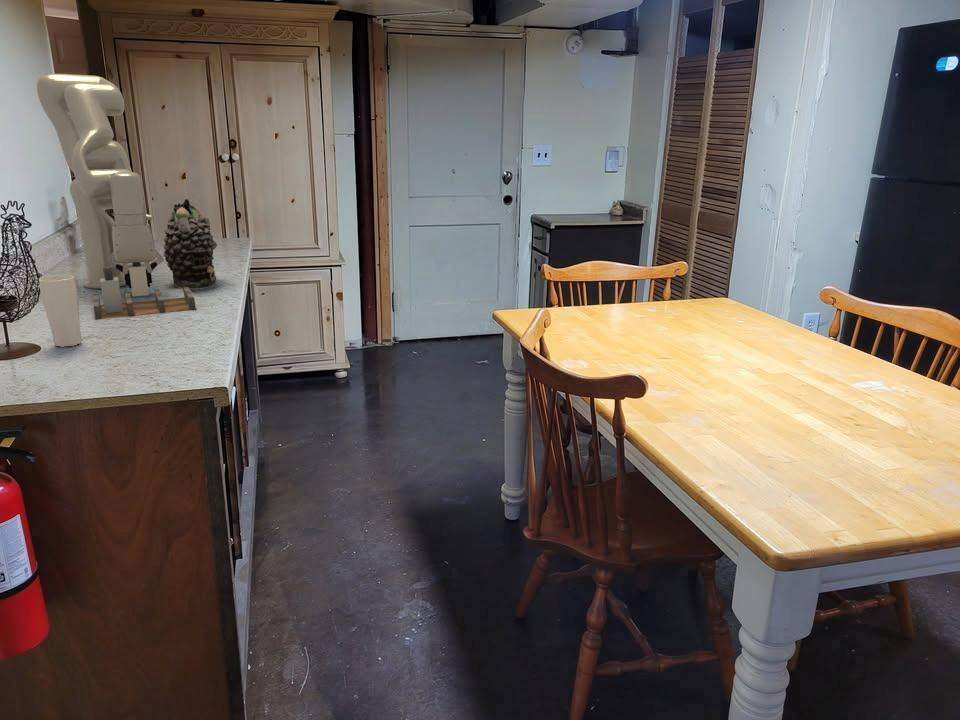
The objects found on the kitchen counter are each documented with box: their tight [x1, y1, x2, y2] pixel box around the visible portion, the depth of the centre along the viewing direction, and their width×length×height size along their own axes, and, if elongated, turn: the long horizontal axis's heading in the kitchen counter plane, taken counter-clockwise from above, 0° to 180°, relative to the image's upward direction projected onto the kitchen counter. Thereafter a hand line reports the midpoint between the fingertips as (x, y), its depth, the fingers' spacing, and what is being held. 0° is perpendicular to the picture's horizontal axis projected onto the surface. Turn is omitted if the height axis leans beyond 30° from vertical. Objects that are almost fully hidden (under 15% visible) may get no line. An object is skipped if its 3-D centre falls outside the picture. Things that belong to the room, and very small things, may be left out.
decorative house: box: [163, 199, 218, 291], centre depth 208 cm, size 21×15×25 cm
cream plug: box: [128, 262, 150, 298], centre depth 192 cm, size 4×4×11 cm
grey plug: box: [100, 267, 123, 313], centre depth 176 cm, size 4×4×11 cm
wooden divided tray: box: [92, 287, 197, 320], centre depth 180 cm, size 15×23×4 cm, turn 118°
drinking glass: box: [38, 274, 83, 348], centre depth 152 cm, size 7×7×15 cm
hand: (139, 286), depth 193 cm, fingers closed on cream plug, 4 cm apart
